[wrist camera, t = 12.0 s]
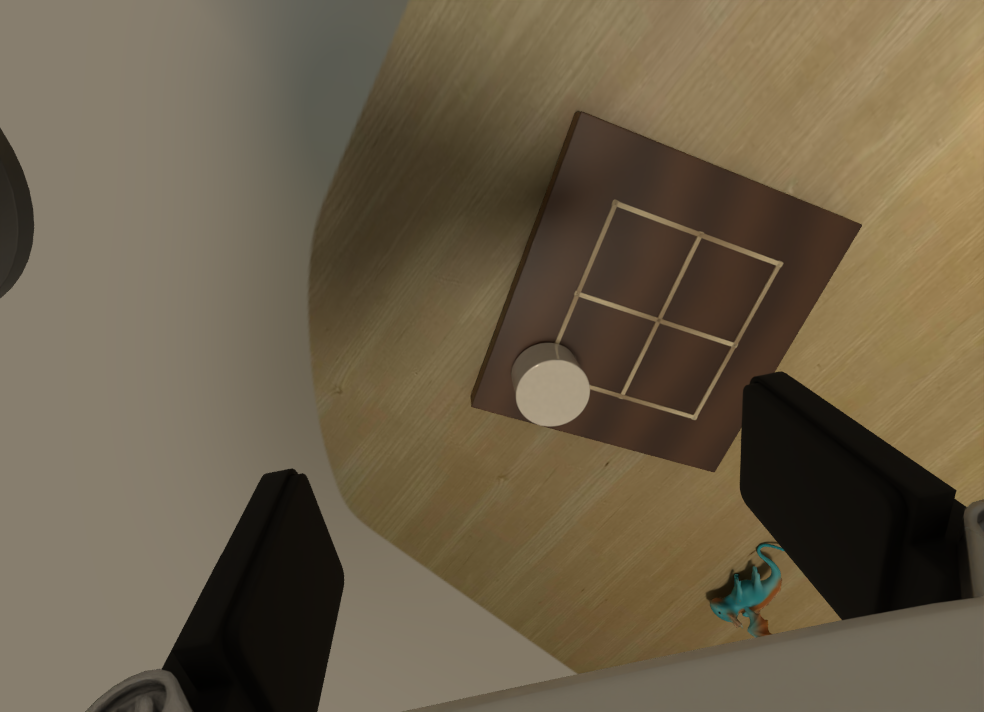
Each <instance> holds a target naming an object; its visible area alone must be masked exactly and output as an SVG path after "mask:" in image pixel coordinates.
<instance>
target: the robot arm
mask: <svg viewBox="0 0 984 712" xmlns="http://www.w3.org/2000/svg"><path fill="white" fill-rule="evenodd" d="M740 491H741V495H742V498H743V500H744V502H745V503H746V505H747V506H748V507H749V508H750V510H751V511H752V512H753V513H754V515H755V516H756V517H757V518H758V519H759V521H760V522H761V523H762V524H763V525H764V527H765V528H766V529H767V530H768V531H769V533H770V534H771V535H772V536H773V537H774V539H775V540H776V541H777V542H778V543H779V545H780V546H781V547H782V548H783V549H784V551H785V552H786V553H787V554H788V555H789V557H790V558H791V559H792V560H793V561H794V563H795V564H796V565H797V566H798V567H799V569H800V570H801V571H802V572H803V573H804V575H805V576H806V577H807V578H808V580H809V581H810V582H811V583H812V584H813V586H814V587H815V588H816V589H817V590H818V592H819V593H820V594H821V595H822V596H823V598H824V599H825V600H826V601H827V602H828V604H829V605H830V606H831V607H832V608H833V610H834V611H835V612H836V613H837V614H838V616H839V617H840V618H841V619H842V620H841V621H836V622H831V623H826V624H821V625H816V626H811V627H806V628H801V629H796V630H791V631H786V632H782V633H777V634H772V635H767V636H762V637H757V638H752V639H747V640H742V641H737V642H732V643H727V644H722V645H717V646H712V647H707V648H702V649H697V650H693V651H688V652H683V653H678V654H673V655H668V656H664V657H659V658H654V659H649V660H644V661H639V662H635V663H630V664H625V665H620V666H615V667H610V668H606V669H601V670H596V671H591V672H587V673H582V674H577V675H573V676H567V677H563V678H558V679H553V680H549V681H544V682H539V683H534V684H529V685H525V686H520V687H515V688H510V689H506V690H501V691H497V692H492V693H487V694H482V695H478V696H473V697H468V698H464V699H459V700H454V701H450V702H445V703H441V704H436V705H431V706H427V707H422V708H417V709H412V710H408V711H403V712H984V499H983V500H980V501H976V502H973V503H971V504H970V505H969V506H968V507H966V506H964V505H963V504H961V503H960V502H959V501H957V500H956V499H954V498H955V494H956V490H955V489H954V488H952V487H951V486H949V485H948V484H946V483H945V482H943V481H942V480H940V479H939V478H938V477H936V476H935V475H933V474H932V473H930V472H929V471H927V470H926V469H924V468H923V467H922V466H920V465H919V464H917V463H916V462H914V461H913V460H911V459H910V458H908V457H907V456H906V455H904V454H903V453H901V452H900V451H898V450H897V449H895V448H894V447H892V446H891V445H890V444H888V443H887V442H885V441H884V440H882V439H881V438H879V437H878V436H876V435H875V434H874V433H872V432H871V431H869V430H868V429H866V428H865V427H863V426H862V425H860V424H859V423H858V422H856V421H855V420H853V419H852V418H850V417H849V416H847V415H846V414H844V413H843V412H842V411H840V410H839V409H837V408H836V407H834V406H833V405H831V404H830V403H828V402H827V401H826V400H824V399H823V398H821V397H820V396H818V395H817V394H815V393H814V392H812V391H811V390H810V389H808V388H807V387H805V386H804V385H802V384H801V383H799V382H798V381H796V380H795V379H794V378H792V377H791V376H789V375H788V374H786V373H784V372H775V373H770V374H765V375H760V376H755V377H753V378H752V379H751V381H750V384H749V385H746V386H745V387H744V389H743V400H742V432H741V464H740ZM343 587H344V572H343V568H342V565H341V563H340V560H339V558H338V555H337V552H336V550H335V547H334V545H333V542H332V540H331V537H330V534H329V532H328V529H327V527H326V524H325V522H324V519H323V516H322V514H321V511H320V509H319V506H318V504H317V501H316V498H315V496H314V493H313V491H312V488H311V486H310V483H309V480H308V478H307V476H306V475H305V474H303V473H302V474H298V473H297V472H296V470H294V469H287V470H282V471H277V472H272V473H267V474H264V475H263V476H262V478H261V480H260V482H259V483H258V485H257V487H256V489H255V491H254V493H253V495H252V497H251V499H250V501H249V503H248V505H247V507H246V509H245V511H244V512H243V514H242V516H241V518H240V520H239V522H238V524H237V526H236V528H235V530H234V532H233V534H232V536H231V538H230V539H229V542H228V543H227V545H226V547H225V549H224V551H223V553H222V555H221V556H220V558H219V560H218V562H217V564H216V566H215V567H214V569H213V572H212V574H211V575H210V577H209V579H208V581H207V583H206V585H205V587H204V589H203V591H202V592H201V594H200V596H199V598H198V600H197V602H196V604H195V606H194V608H193V610H192V612H191V614H190V616H189V618H188V620H187V622H186V623H185V625H184V627H183V629H182V631H181V633H180V635H179V637H178V639H177V641H176V643H175V644H174V647H173V648H172V650H171V652H170V654H169V656H168V658H167V660H166V662H165V664H164V666H163V668H162V670H161V669H157V670H149V671H144V672H141V673H139V674H136V675H134V676H131V677H129V678H127V679H125V680H124V681H122V682H120V683H119V684H117V685H115V686H114V687H112V688H111V689H110V690H108V691H107V692H106V693H105V694H104V695H102V696H101V697H100V698H98V699H97V700H96V701H95V702H94V703H93V705H91V706H90V707H89V708H88V710H87V711H86V712H317V711H318V706H319V701H320V696H321V692H322V687H323V682H324V677H325V673H326V668H327V663H328V659H329V654H330V649H331V644H332V639H333V634H334V630H335V625H336V621H337V616H338V611H339V606H340V602H341V597H342V592H343Z"/></svg>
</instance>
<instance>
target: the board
mask: <svg viewBox="0 0 984 712" xmlns="http://www.w3.org/2000/svg"><path fill="white" fill-rule="evenodd" d="M861 227H862V224H859V223H857V222H854V221H852V220H849V219H847V218H844V217H842V216H840V215H837V214H835V213H832V212H830V211H827V210H825V209H822V208H820V207H817V206H815V205H812V204H810V203H807V202H805V201H802V200H800V199H797V198H795V197H792V196H790V195H788V194H785V193H783V192H780V191H778V190H775V189H773V188H770V187H768V186H765V185H763V184H760V183H758V182H755V181H753V180H750V179H748V178H745V177H743V176H741V175H738V174H736V173H733V172H731V171H728V170H726V169H723V168H721V167H718V166H716V165H713V164H711V163H708V162H706V161H703V160H701V159H698V158H696V157H693V156H691V155H689V154H686V153H684V152H681V151H679V150H676V149H674V148H671V147H669V146H666V145H664V144H661V143H659V142H656V141H654V140H651V139H649V138H646V137H644V136H642V135H639V134H637V133H634V132H632V131H629V130H627V129H624V128H622V127H619V126H617V125H614V124H612V123H609V122H607V121H604V120H602V119H599V118H597V117H594V116H592V115H590V114H587V113H585V112H576V113H575V115H574V118H573V121H572V124H571V126H570V129H569V132H568V134H567V137H566V140H565V143H564V145H563V148H562V151H561V153H560V156H559V159H558V161H557V164H556V167H555V170H554V172H553V175H552V178H551V180H550V183H549V186H548V189H547V191H546V194H545V197H544V199H543V202H542V205H541V208H540V210H539V213H538V216H537V218H536V221H535V224H534V227H533V229H532V232H531V235H530V237H529V240H528V243H527V246H526V248H525V251H524V254H523V256H522V259H521V262H520V265H519V267H518V270H517V273H516V275H515V278H514V281H513V284H512V286H511V289H510V292H509V294H508V297H507V300H506V303H505V305H504V308H503V311H502V313H501V316H500V319H499V322H498V324H497V327H496V330H495V332H494V335H493V338H492V340H491V343H490V346H489V349H488V351H487V354H486V357H485V359H484V362H483V365H482V368H481V370H480V373H479V376H478V378H477V381H476V384H475V387H474V389H473V392H472V395H471V407H474V408H478V409H481V410H485V411H489V412H492V413H496V414H500V415H503V416H507V417H511V418H515V419H518V420H522V421H526V422H529V423H533V422H531V421H529V420H528V419H527V418H526V417H524V415H523V414H522V413H521V412H520V410H519V408H518V406H517V402H516V398H515V394H514V390H513V386H512V382H511V371H512V367H513V365H514V363H515V361H516V359H517V358H518V357H519V355H520V354H521V353H522V352H523V351H525V350H526V349H528V348H530V347H531V346H534V345H536V344H540V343H555V344H559V345H562V346H564V347H566V348H567V349H569V350H570V351H571V352H572V353H573V354H574V355H575V357H576V358H577V360H578V362H579V364H580V366H581V367H582V369H583V371H584V373H585V374H586V376H587V378H588V381H589V385H590V396H589V400H588V402H587V405H586V406H585V408H584V409H583V411H582V412H581V413H580V414H579V415H578V416H577V417H576V418H575V419H573V420H572V421H570V422H568V423H565V424H563V425H559V426H544V427H548V428H552V429H555V430H559V431H563V432H566V433H570V434H574V435H578V436H581V437H585V438H589V439H592V440H596V441H600V442H604V443H607V444H611V445H615V446H618V447H622V448H626V449H629V450H633V451H637V452H641V453H644V454H648V455H652V456H655V457H659V458H663V459H666V460H670V461H674V462H678V463H681V464H685V465H689V466H692V467H696V468H700V469H704V470H707V471H711V472H715V471H716V469H717V467H718V466H719V464H720V462H721V461H722V459H723V457H724V456H725V454H726V452H727V451H728V449H729V447H730V446H731V444H732V442H733V441H734V439H735V437H736V436H737V434H738V432H739V431H740V429H741V427H742V400H743V389H744V387H745V386H746V385H749V384H750V381H751V379H752V378H753V377H755V376H760V375H765V374H770V373H774V372H775V370H776V369H777V367H778V365H779V364H780V362H781V360H782V359H783V357H784V355H785V354H786V352H787V350H788V349H789V347H790V345H791V344H792V342H793V340H794V339H795V337H796V335H797V334H798V332H799V330H800V329H801V327H802V325H803V324H804V322H805V320H806V319H807V317H808V315H809V314H810V312H811V310H812V309H813V307H814V305H815V304H816V302H817V300H818V299H819V297H820V295H821V294H822V292H823V290H824V289H825V287H826V285H827V283H828V282H829V280H830V278H831V277H832V275H833V273H834V272H835V270H836V268H837V267H838V265H839V263H840V262H841V260H842V258H843V257H844V255H845V253H846V252H847V250H848V248H849V247H850V245H851V243H852V242H853V240H854V238H855V237H856V235H857V233H858V232H859V230H860V228H861ZM533 424H535V423H533ZM537 425H538V424H537Z"/></svg>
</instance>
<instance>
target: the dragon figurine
mask: <svg viewBox="0 0 984 712" xmlns="http://www.w3.org/2000/svg"><path fill="white" fill-rule="evenodd" d="M764 546H767V547H773V548H776V549H779V550H782V551H784V549H783V548H781V547H778V546H774V545H771V544H761V545H759V546H758V548H757V553H758V555H759V556H760V557H761V558H762V559H763V560H764V561H765V562H767V563H768V565H769V566H770V567H771V570H772V573H771V575H770V577H769V578H767V579H766V580H762V581H760V574H759V573H758V570H757V567H754V566H753V572H752V578H751V580H742V581H741V580H740V581H739V579H738V578H739V577H738V576H739V574H735V575H734V578H735V579H734V588H733V590H732V593H731V594H730V595H728V596H726V597H725V598H720V597H717V598H713V599H712V600H711V601H710V606H711V609H712V610H713V612H714V613H715V614H716V615H717V616H718V617H719V618H721V619H723V620H725V621H728V622H732V623H733V624H734V626H736V628H737V627H740V626H741V627H742V624H741V623H740V622H739V621H738V619H737V616H738V615H739V613H742V615H743V616H745V617H749V618H750V625H749V627H748V632H749V633H750V634H751V635H753V636H754V637H756V638H757V637H762V636H767V635H772V634H771V633H769V631H768V620H764V619H763V618H762V617H761V615H760V613H759V612H760V610H761V609H763V608H764V607H765V606H767V605H768V604H769V602H770V601H771V600H772V599H773V598H775V597H776V595H777V594H778V593H779V592H780V590H781V588H780V587H781V581H782V578H781V573H780V570H779V568H778V567H777V565H776V564H775V563H774V562H773V561H771V560H770V559H768V558H767V557H765V556H764V555H762V554H761V552H760V549H761V548H762V547H764ZM758 613H759V614H758ZM742 628H743V627H742Z"/></svg>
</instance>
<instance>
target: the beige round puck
mask: <svg viewBox="0 0 984 712" xmlns="http://www.w3.org/2000/svg"><path fill="white" fill-rule="evenodd" d="M511 382H512V386H513V390H514V394H515V398H516V402H517V406H518V408H519V410H520V412H521V413H522V414H523V415H524V417H526V418H527V419H528V420H529V421H531V422H533V423H535V424H538V425H541V426H559V425H563V424H565V423H568V422H570V421H572V420H573V419H575V418H576V417H577V416H578V415H579V414H580V413H581V412H582V411H583V409H584V408H585V406H586V405H587V402H588V400H589V396H590V385H589V381H588V378H587V376H586V374H585V373H584V371H583V369H582V367H581V366H580V364H579V362H578V360H577V358H576V357H575V355H574V354H573V353H572V352H571V351H570V350H569V349H567V348H566V347H564V346H562V345H559V344H555V343H540V344H536V345H534V346H531V347H530V348H528V349H526V350H525V351H523V352H522V353H521V354H520V355H519V357H518V358H517V359H516V361H515V363H514V365H513V367H512V371H511Z"/></svg>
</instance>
